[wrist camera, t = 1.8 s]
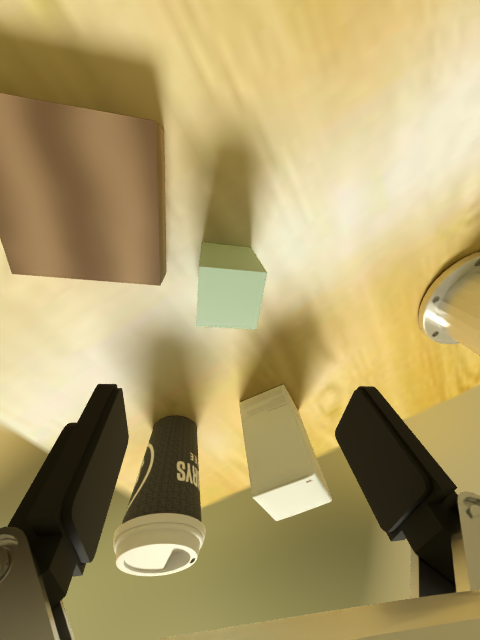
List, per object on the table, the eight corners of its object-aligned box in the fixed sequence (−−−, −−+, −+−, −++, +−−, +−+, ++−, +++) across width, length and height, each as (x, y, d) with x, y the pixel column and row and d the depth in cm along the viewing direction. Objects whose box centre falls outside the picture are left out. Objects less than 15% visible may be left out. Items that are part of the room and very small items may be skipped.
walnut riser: (164, 131, 20) (155, 120, 17) (166, 271, 26) (160, 285, 23) (-2, 101, 18) (-51, 84, 15) (40, 260, 24) (12, 273, 21)
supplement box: (237, 401, 36) (250, 497, 25) (284, 382, 35) (317, 473, 24) (256, 429, 40) (275, 523, 29) (299, 412, 39) (334, 503, 28)
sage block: (251, 247, 25) (267, 272, 18) (244, 292, 28) (256, 329, 21) (202, 242, 25) (199, 266, 18) (199, 288, 27) (196, 326, 20)
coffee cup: (182, 456, 41) (170, 583, 28) (130, 435, 37) (88, 572, 24) (219, 424, 38) (224, 550, 25) (166, 399, 34) (140, 531, 21)
